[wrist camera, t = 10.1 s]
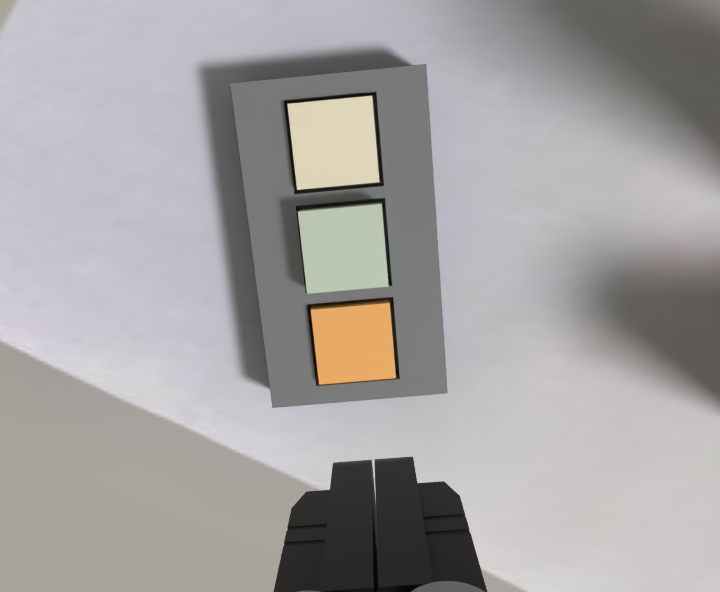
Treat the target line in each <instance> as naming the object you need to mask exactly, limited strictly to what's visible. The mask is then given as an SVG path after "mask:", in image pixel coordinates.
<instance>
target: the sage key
mask: <svg viewBox="0 0 720 592" xmlns="http://www.w3.org/2000/svg"><path fill="white" fill-rule="evenodd" d="M298 218H299V226H300V235H301V244H302V253H303V262H304V271H305V280H306V289H307V294H310V293H322V292H333V291H344V290H355V289H367V288H378V287H389V285H388V273H387V261H386V249H385V237H384V225H383V213H382V203H381V202H378V203H367V204H356V205H346V206H335V207H324V208H313V209H302V210H300V211H298Z"/></svg>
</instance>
